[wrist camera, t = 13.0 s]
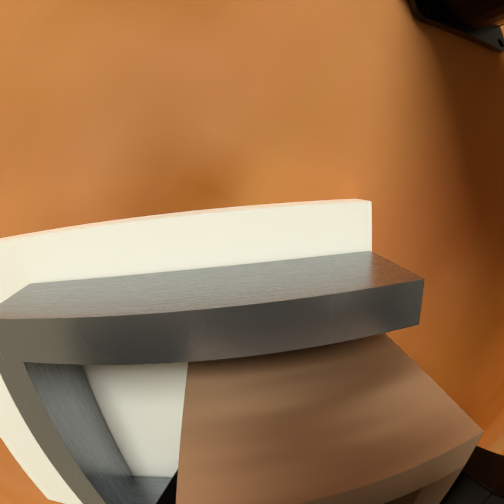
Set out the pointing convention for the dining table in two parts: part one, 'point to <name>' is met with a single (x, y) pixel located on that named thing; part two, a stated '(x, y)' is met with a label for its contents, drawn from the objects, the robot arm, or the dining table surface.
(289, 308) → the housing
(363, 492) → the hollow wooden box
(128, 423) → the base board
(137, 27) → the dining table surface
